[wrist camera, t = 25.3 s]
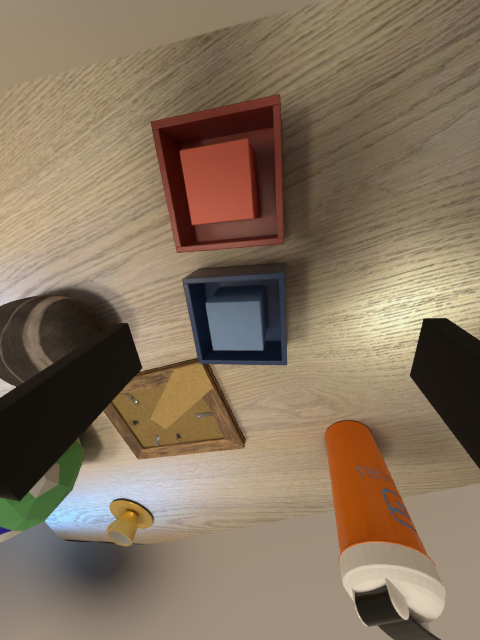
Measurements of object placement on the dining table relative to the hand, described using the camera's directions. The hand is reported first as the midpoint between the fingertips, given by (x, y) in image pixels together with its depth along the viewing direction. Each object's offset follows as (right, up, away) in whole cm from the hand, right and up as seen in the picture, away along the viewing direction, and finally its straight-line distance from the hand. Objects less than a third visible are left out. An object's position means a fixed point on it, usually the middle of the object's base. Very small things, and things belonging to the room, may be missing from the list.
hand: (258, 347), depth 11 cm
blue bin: (0, +3, +21) cm, 21 cm away
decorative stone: (-28, 0, +28) cm, 40 cm away
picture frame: (-14, -16, +32) cm, 38 cm away
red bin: (-2, +16, +16) cm, 22 cm away
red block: (-2, +16, +15) cm, 22 cm away
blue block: (0, +3, +21) cm, 21 cm away
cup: (-29, -49, +50) cm, 76 cm away
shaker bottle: (+17, -18, +27) cm, 37 cm away
